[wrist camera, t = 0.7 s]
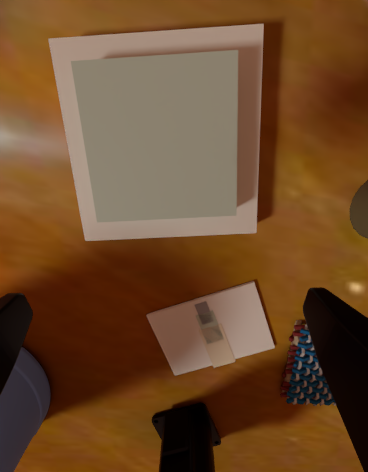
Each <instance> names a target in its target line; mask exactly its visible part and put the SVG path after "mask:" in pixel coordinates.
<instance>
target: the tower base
mask: <svg viewBox="0 0 368 472" xmlns="http://www.w3.org/2000/svg"><path fill="white" fill-rule="evenodd" d="M263 34H264V24H251V25H237V26H222V27H208V28H194V29H180V30H165V31H151V32H137V33H122V34H108V35H94V36H80V37H65V38H51V39H48V40H49V45H50V51H51V56H52V62H53V67H54V73H55V78H56V84H57V89H58V95H59V100H60V106H61V111H62V116H63V122H64V127H65V133H66V138H67V144H68V149H69V155H70V160H71V166H72V171H73V177H74V182H75V188H76V193H77V199H78V204H79V210H80V215H81V221H82V226H83V231H84V237H85V241H98V240H119V239H140V238H161V237H182V236H203V235H224V234H245V233H256V231H257V203H258V174H259V146H260V118H261V90H262V62H263Z"/></svg>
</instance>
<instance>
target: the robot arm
mask: <svg viewBox="0 0 368 472" xmlns="http://www.w3.org/2000/svg"><path fill="white" fill-rule="evenodd" d="M303 313H304V317H305V320H306V323H307V327H308V330H309V333H310V337H311V340H312V343H313V347H314V350H315V353H316V356H317V359H318V362H319V365H320V367H321V370H322V372H323V374H324V377H325V379H326V382H327V384H328V386H329V389H330V391H331V393H332V396H333V398H334V401H335V403H336V405H337V408H338V410H339V413H340V415H341V417H342V420H343V422H344V424H345V427H346V429H347V432H348V434H349V436H350V439H351V441H352V444H353V446H354V448H355V451H356V453H357V455H358V458H359V460H360V463H361V465H362V467H363V470H364V472H368V318H367V317H365V316H364V315H362V314H361V313H360V312H358V311H357V310H355V309H354V308H352V307H351V306H350V305H348V304H347V303H345V302H344V301H342V300H341V299H340V298H338V297H337V296H335V295H334V294H333V293H331V292H330V291H328V290H327V289H325V288H310V289H309V290H308V292H307V295H306V299H305V302H304V305H303ZM32 316H33V311H32V309H31V307H30V305H29V303H28V301H27V299H26V297H25V295H24V294H22V293H9V294H6V295H5V296H3V297H1V298H0V395H1V393H2V391H3V389H4V387H5V384H6V382H7V380H8V378H9V376H10V374H11V372H12V370H13V367H14V365H15V363H16V360H17V358H18V355H19V353H20V350H21V347H22V344H23V342H24V339H25V336H26V333H27V331H28V328H29V325H30V322H31V320H32ZM152 423H153V425H154V427H155V429H156V431H157V432H158V434H159V436H160V438H161V440H162V443H161V454H160V465H159V472H215V466H214V454H213V446H217V445H220V444H221V439H220V436H219V434H218V431H217V429H216V427H215V425H214V423H213V420H212V418H211V416H210V414H209V412H208V409H207V407H206V405H205V404H204V403H199V404H196V405H192V406H188V407H184V408H180V409H176V410H173V411H169V412H165V413H161V414H157V415H154V416H153V417H152Z"/></svg>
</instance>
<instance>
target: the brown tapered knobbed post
mask: <svg viewBox="0 0 368 472" xmlns="http://www.w3.org/2000/svg"><path fill="white" fill-rule="evenodd" d="M350 220H351V223H352V225H353V228H354V229H355V230H356V231H357V232H358V233H359V234H360V235H361V236H363V237H366V238H368V181H366V182H365V183H364V184H363V185H362V186H361V187H360V188H359V190H358V191H357V193H356V194H355V196H354V197H353V200H352V203H351V206H350Z"/></svg>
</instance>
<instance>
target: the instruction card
mask: <svg viewBox="0 0 368 472" xmlns="http://www.w3.org/2000/svg"><path fill="white" fill-rule="evenodd" d="M146 317H147V319H148V321H149V323H150V325H151V327H152V329H153V331H154V333H155V335H156V337H157V340H158V342H159V344H160V346H161V348H162V350H163V352H164V354H165V356H166V358H167V361H168V363H169V365H170V367H171V369H172V371H173V373H174V375H175V376H176V375H180V374H183V373H187V372H190V371H194V370H197V369H201V368H205V367H208V366H212V365H213V367H214V368H215V367H219V366H222V365H226V364H229V363H233V362H236V361H235V359H237V358H241V357H244V356H248V355H251V354H255V353H259V352H262V351H266V350H269V349H273V348H275V346H274V343H273V340H272V337H271V334H270V330H269V327H268V324H267V321H266V318H265V314H264V311H263V308H262V305H261V302H260V298H259V295H258V292H257V289H256V286H255V282H254V281H251V282H248V283H244V284H241V285H238V286H235V287H232V288H228V289H225V290H222V291H219V292H216V293H212V294H209V295H206V296H203V297H200V298H196V299H193V300H190V301H187V302H184V303H180V304H177V305H174V306H171V307H168V308H164V309H161V310H158V311H155V312H152V313H148V314H147V315H146Z"/></svg>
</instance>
